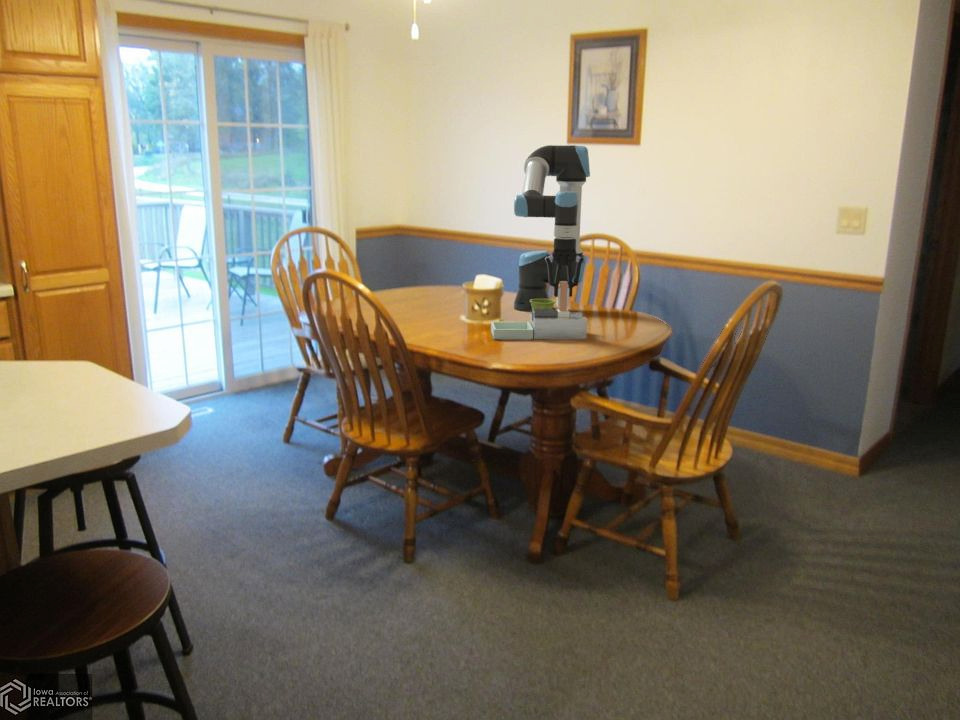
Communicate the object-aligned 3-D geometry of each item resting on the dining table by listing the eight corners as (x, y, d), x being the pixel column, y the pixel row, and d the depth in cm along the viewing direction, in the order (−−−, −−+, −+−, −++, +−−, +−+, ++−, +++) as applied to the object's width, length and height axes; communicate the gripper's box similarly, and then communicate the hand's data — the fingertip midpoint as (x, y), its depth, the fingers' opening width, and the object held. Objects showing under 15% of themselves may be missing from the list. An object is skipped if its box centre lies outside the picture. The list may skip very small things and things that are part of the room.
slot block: (530, 331, 286) (530, 312, 284) (580, 331, 287) (581, 312, 285) (534, 339, 274) (534, 319, 272) (586, 339, 275) (587, 319, 273)
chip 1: (532, 320, 280) (533, 308, 279) (544, 320, 281) (544, 308, 280) (534, 322, 277) (534, 311, 276) (545, 322, 277) (546, 311, 276)
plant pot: (537, 320, 306) (538, 297, 304) (558, 323, 301) (559, 300, 298) (524, 323, 298) (525, 301, 296) (546, 327, 293) (546, 303, 291)
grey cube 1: (544, 320, 281) (544, 309, 280) (555, 320, 281) (556, 309, 280) (545, 322, 277) (546, 311, 276) (557, 322, 277) (557, 311, 276)
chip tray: (490, 331, 285) (491, 321, 284) (528, 331, 286) (528, 321, 285) (493, 339, 273) (493, 329, 272) (532, 339, 273) (533, 329, 273)
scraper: (555, 318, 281) (556, 280, 278) (566, 318, 282) (567, 280, 278) (557, 321, 276) (558, 283, 273) (569, 321, 277) (570, 282, 273)
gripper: (544, 238, 268) (541, 308, 274) (589, 239, 269) (586, 308, 275) (541, 236, 275) (538, 304, 281) (585, 236, 276) (582, 304, 282)
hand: (562, 305), depth 278 cm, fingers closed on scraper, 2 cm apart
